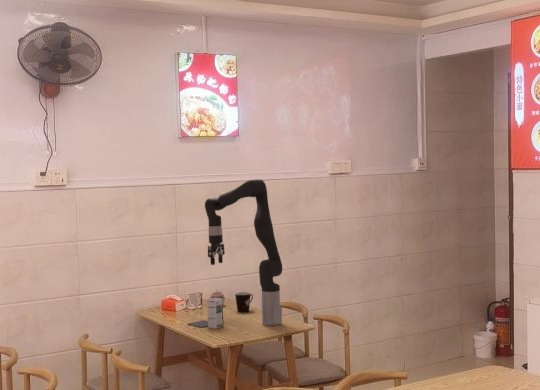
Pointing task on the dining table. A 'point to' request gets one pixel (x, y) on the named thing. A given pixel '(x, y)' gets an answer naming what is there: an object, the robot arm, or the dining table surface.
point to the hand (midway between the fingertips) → (216, 263)
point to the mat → (199, 324)
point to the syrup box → (215, 313)
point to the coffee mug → (243, 301)
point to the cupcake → (218, 295)
